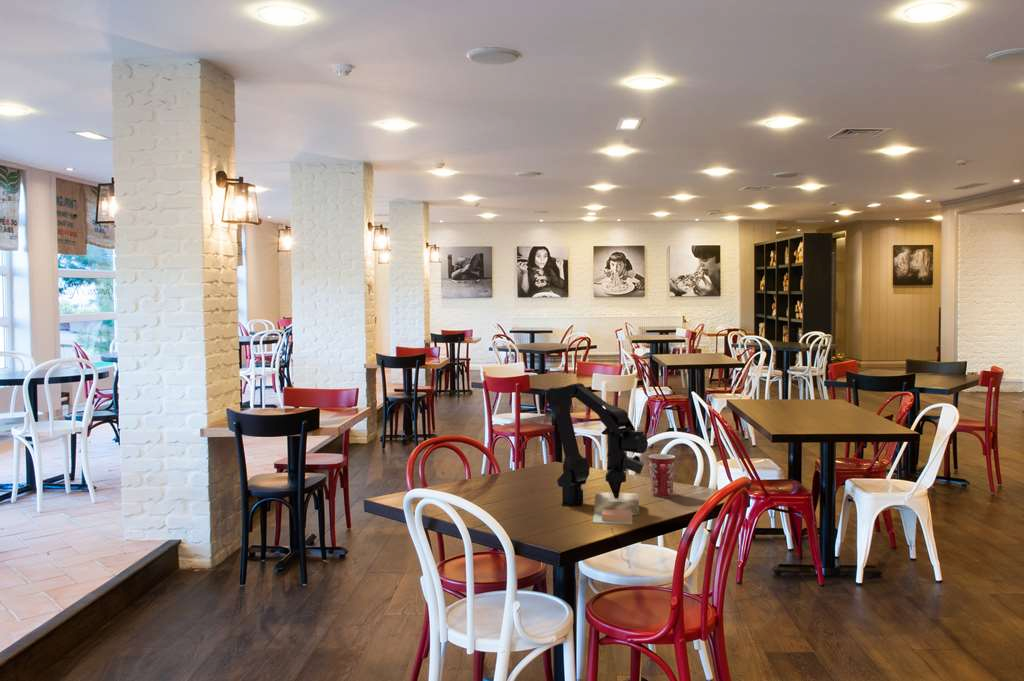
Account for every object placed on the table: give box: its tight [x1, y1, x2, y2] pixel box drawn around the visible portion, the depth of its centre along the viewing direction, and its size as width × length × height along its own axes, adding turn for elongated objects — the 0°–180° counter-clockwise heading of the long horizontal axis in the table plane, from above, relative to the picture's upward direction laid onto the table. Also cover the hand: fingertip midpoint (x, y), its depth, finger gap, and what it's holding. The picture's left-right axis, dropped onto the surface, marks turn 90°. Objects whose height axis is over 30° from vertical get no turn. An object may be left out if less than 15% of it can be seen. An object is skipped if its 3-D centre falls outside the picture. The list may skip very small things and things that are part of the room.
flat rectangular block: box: [602, 509, 631, 522], centre depth 260 cm, size 9×6×2 cm, turn 82°
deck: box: [593, 491, 640, 516], centre depth 272 cm, size 14×12×4 cm
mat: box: [592, 513, 634, 525], centre depth 261 cm, size 12×11×1 cm
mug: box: [648, 453, 676, 498], centre depth 289 cm, size 13×9×14 cm
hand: (616, 498), depth 266 cm, fingers closed
